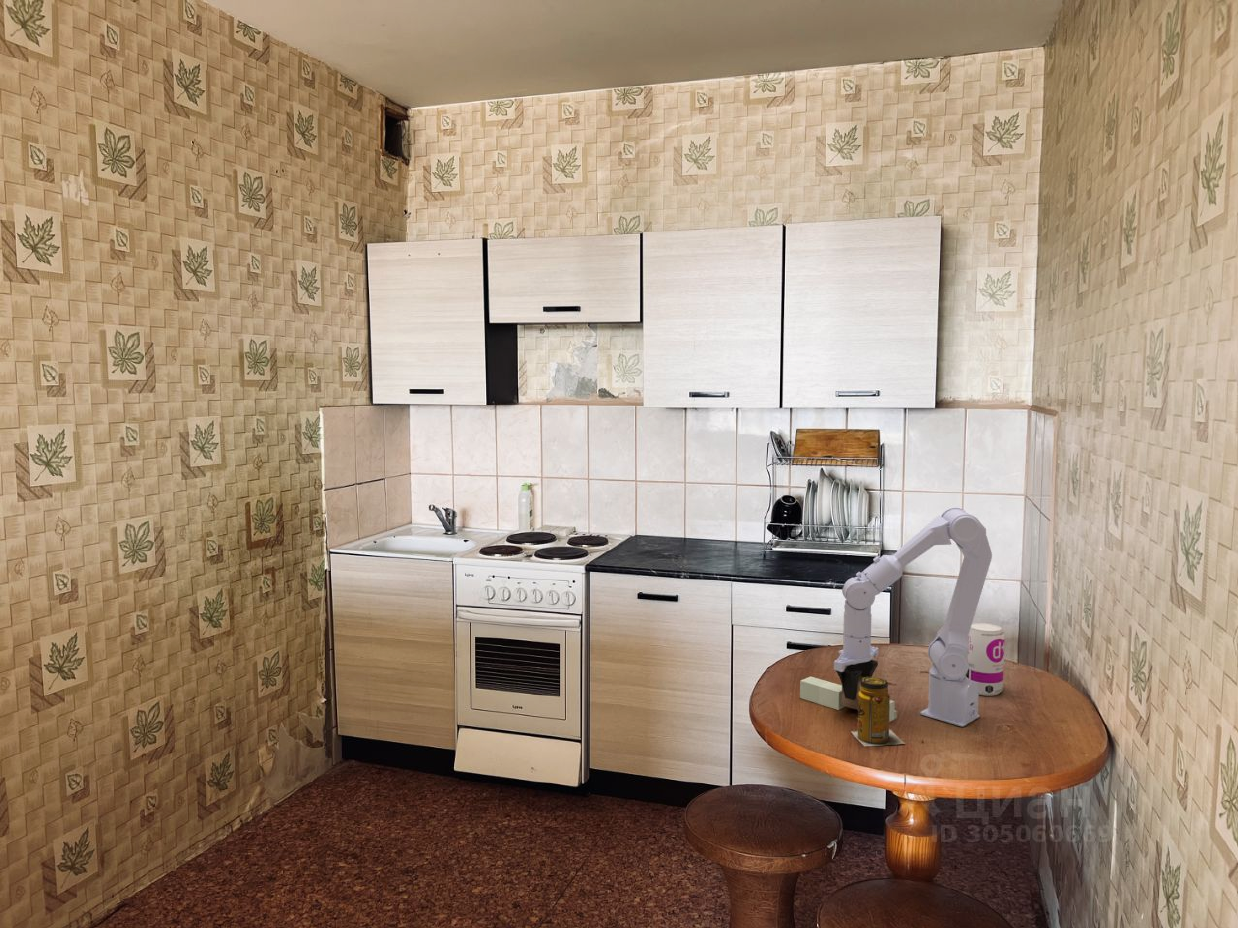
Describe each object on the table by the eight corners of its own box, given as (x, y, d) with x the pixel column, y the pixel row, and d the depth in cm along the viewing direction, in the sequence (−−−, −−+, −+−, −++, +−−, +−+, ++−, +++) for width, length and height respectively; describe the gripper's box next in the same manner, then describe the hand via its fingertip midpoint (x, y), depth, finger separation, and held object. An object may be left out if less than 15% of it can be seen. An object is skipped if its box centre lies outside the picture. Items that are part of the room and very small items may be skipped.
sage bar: (896, 718, 182) (897, 699, 182) (884, 724, 179) (884, 706, 178) (812, 692, 197) (813, 675, 197) (799, 697, 194) (800, 680, 193)
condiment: (850, 732, 175) (851, 675, 174) (890, 730, 176) (891, 673, 175) (863, 747, 168) (865, 688, 167) (905, 745, 169) (907, 686, 168)
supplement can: (1010, 693, 195) (1013, 629, 194) (982, 698, 192) (985, 633, 191) (983, 681, 203) (985, 619, 201) (956, 686, 200) (958, 623, 198)
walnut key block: (867, 705, 186) (868, 678, 185) (857, 709, 183) (858, 682, 182) (851, 700, 189) (852, 673, 188) (841, 704, 186) (842, 677, 185)
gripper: (859, 623, 192) (857, 682, 193) (821, 637, 182) (820, 699, 183) (887, 630, 187) (886, 690, 188) (851, 644, 177) (849, 708, 178)
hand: (855, 695), depth 185 cm, fingers closed on walnut key block, 4 cm apart
